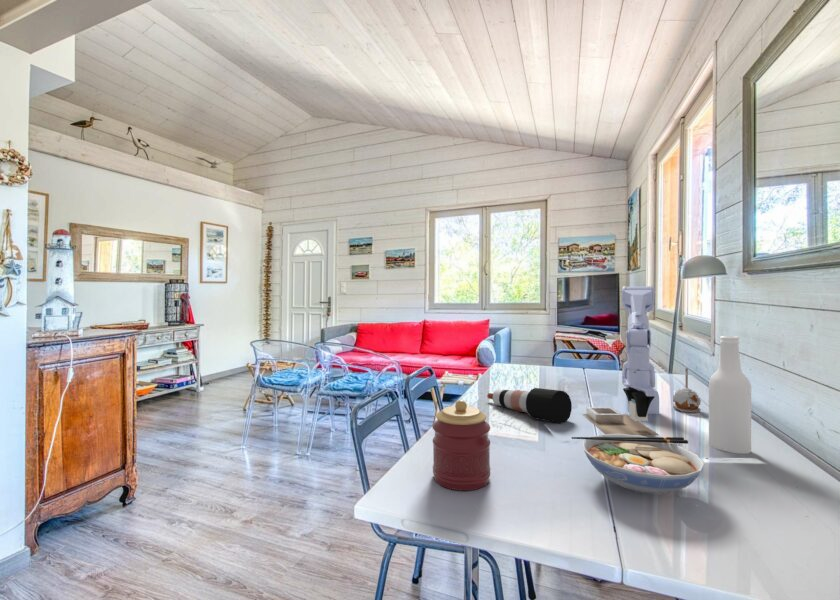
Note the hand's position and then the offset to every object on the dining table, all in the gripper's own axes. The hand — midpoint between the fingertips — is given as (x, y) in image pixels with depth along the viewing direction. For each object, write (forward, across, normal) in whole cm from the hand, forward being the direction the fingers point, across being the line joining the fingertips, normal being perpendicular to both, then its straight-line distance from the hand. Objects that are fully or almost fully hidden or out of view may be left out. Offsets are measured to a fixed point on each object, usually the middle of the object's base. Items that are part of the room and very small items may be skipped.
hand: (638, 414), depth 118 cm
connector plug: (+1, 0, 0) cm, 1 cm away
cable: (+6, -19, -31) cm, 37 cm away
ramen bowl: (+5, +34, -16) cm, 38 cm away
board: (+5, -5, -4) cm, 8 cm away
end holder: (+4, -10, -6) cm, 12 cm away
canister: (+5, +32, -54) cm, 63 cm away
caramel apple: (+6, -24, +28) cm, 37 cm away
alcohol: (+6, +13, +17) cm, 22 cm away
